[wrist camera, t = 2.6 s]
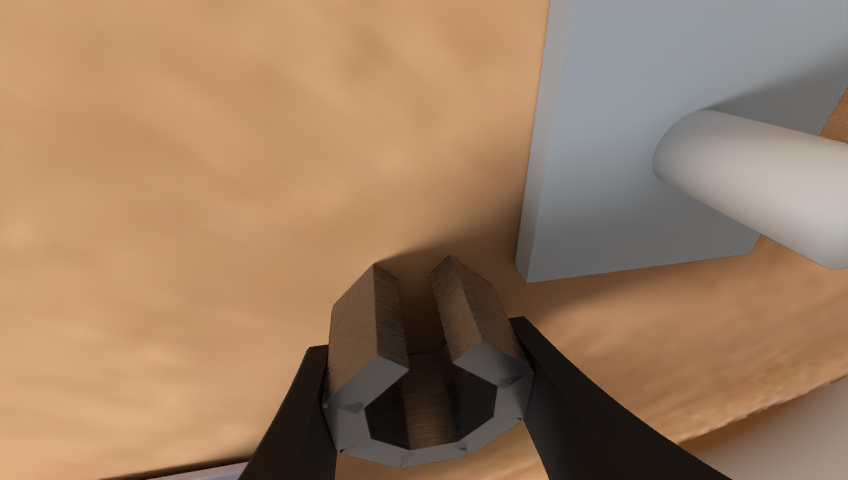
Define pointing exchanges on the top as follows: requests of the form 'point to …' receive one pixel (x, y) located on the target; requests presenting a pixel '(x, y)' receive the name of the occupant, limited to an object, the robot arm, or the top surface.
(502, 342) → the snap ring
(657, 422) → the top surface
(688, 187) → the post stand
